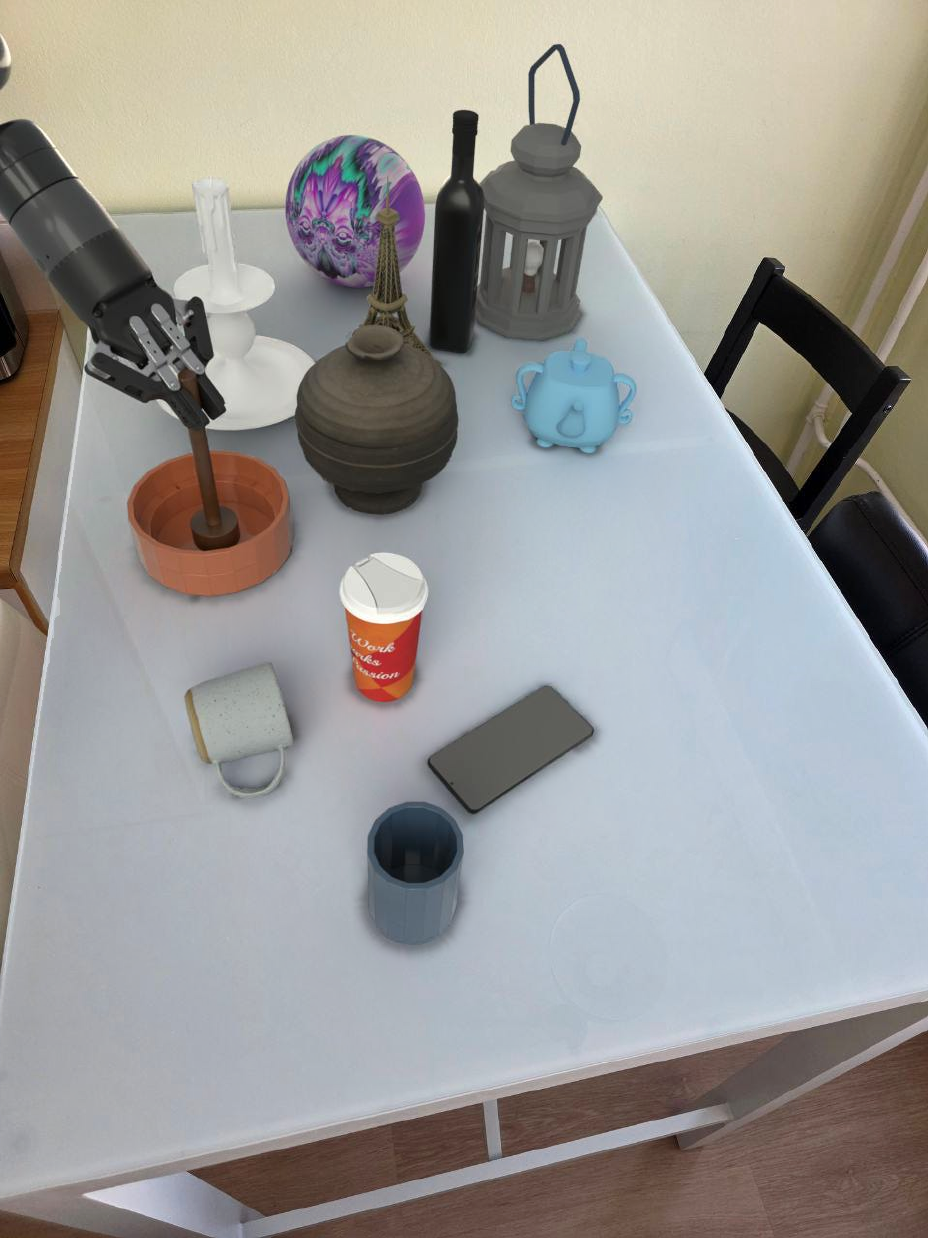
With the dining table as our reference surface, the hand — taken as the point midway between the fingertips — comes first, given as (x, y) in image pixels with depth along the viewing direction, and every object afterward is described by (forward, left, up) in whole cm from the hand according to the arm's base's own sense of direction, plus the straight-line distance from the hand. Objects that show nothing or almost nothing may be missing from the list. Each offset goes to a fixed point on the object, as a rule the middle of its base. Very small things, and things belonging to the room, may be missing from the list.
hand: (211, 420), depth 83 cm
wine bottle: (+51, -6, -19) cm, 55 cm away
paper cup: (-8, -21, -19) cm, 29 cm away
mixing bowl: (+2, +3, -19) cm, 19 cm away
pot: (+18, -9, -19) cm, 27 cm away
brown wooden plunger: (0, +2, -16) cm, 16 cm away
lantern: (+64, -13, -19) cm, 68 cm away
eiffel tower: (+42, 0, -19) cm, 46 cm away
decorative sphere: (+61, +13, -19) cm, 65 cm away
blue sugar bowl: (+37, -27, -19) cm, 49 cm away
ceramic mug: (-20, -13, -19) cm, 30 cm away
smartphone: (-11, -35, -19) cm, 41 cm away
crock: (-28, -32, -19) cm, 46 cm away
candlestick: (+28, +15, -19) cm, 37 cm away
